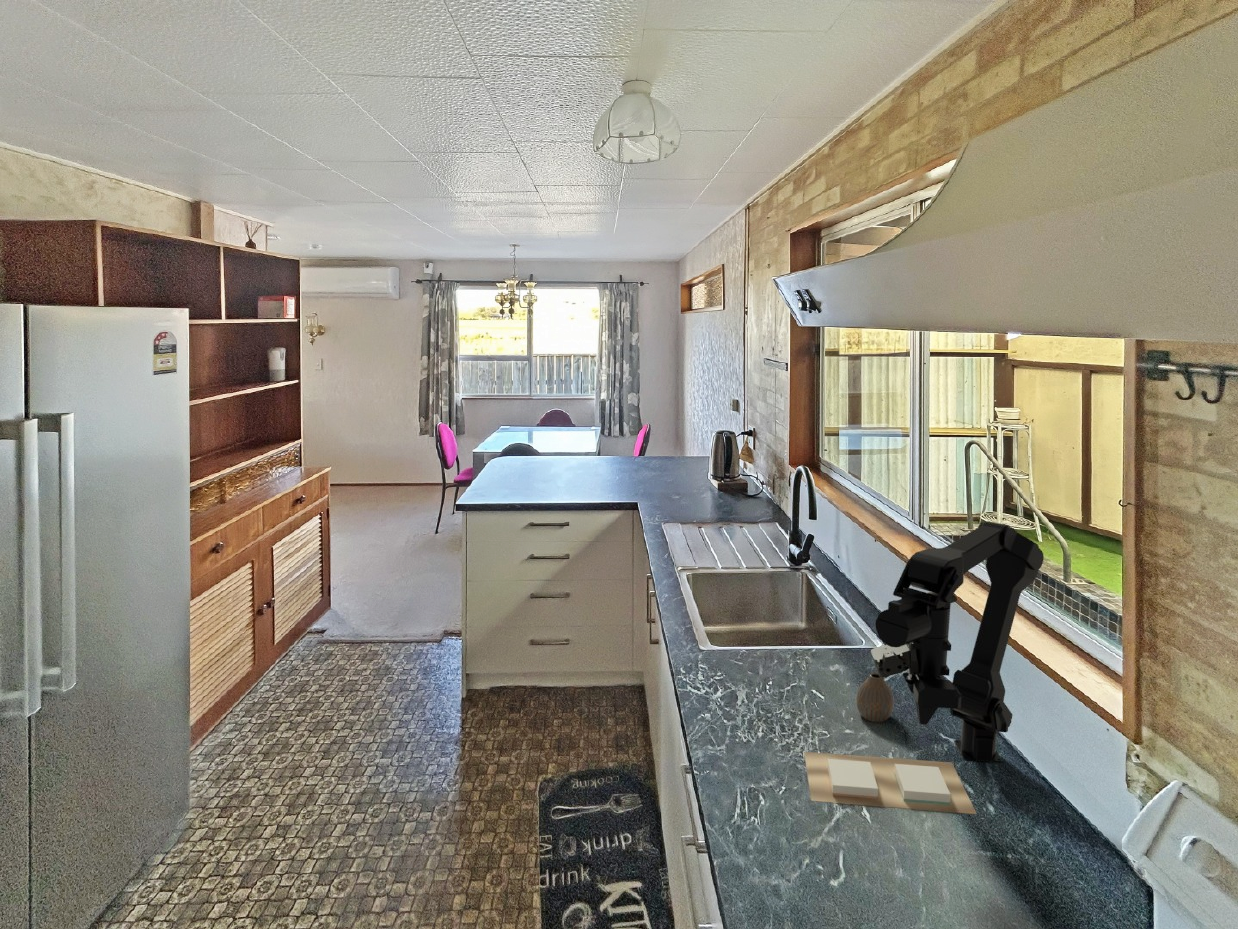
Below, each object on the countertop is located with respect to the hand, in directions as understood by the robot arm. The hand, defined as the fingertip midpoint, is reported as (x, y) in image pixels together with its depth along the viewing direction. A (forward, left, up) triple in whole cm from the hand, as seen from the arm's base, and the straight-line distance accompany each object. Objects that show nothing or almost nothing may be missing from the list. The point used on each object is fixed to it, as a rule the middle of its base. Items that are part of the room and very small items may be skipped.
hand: (922, 723), depth 129 cm
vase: (-24, -3, -12) cm, 27 cm away
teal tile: (-3, 0, -10) cm, 10 cm away
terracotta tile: (-3, -11, -10) cm, 15 cm away
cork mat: (-1, -5, -11) cm, 13 cm away
